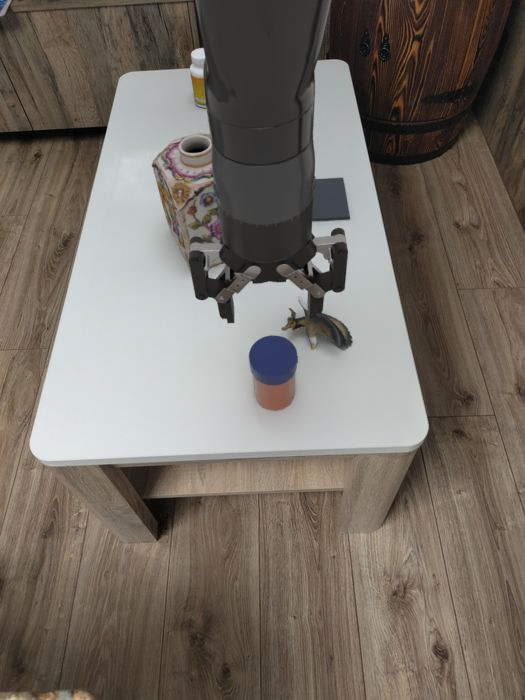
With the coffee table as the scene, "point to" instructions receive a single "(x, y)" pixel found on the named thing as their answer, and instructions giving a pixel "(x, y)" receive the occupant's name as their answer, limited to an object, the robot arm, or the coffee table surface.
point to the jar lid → (273, 360)
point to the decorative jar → (189, 191)
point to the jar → (274, 394)
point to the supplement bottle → (198, 76)
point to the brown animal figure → (320, 327)
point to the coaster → (330, 200)
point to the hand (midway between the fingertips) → (271, 314)
